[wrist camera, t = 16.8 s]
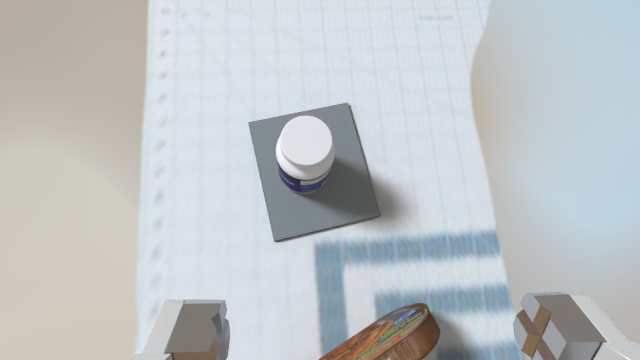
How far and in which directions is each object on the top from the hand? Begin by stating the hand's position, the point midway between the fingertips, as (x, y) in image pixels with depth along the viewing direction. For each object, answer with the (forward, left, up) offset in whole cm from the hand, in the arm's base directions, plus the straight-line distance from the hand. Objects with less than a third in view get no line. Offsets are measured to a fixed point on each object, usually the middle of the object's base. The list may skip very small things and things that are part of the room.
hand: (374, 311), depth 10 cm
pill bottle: (+13, -2, -31) cm, 33 cm away
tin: (-7, -3, -31) cm, 32 cm away
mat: (+13, -3, -31) cm, 34 cm away
